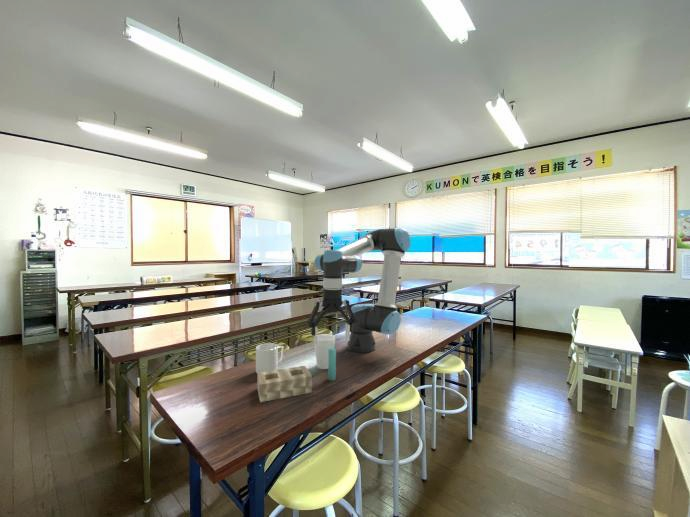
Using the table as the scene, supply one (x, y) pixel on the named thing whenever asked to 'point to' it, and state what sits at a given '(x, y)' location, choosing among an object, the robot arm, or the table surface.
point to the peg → (331, 364)
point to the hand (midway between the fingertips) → (331, 341)
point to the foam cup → (323, 349)
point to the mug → (268, 357)
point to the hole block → (283, 383)
